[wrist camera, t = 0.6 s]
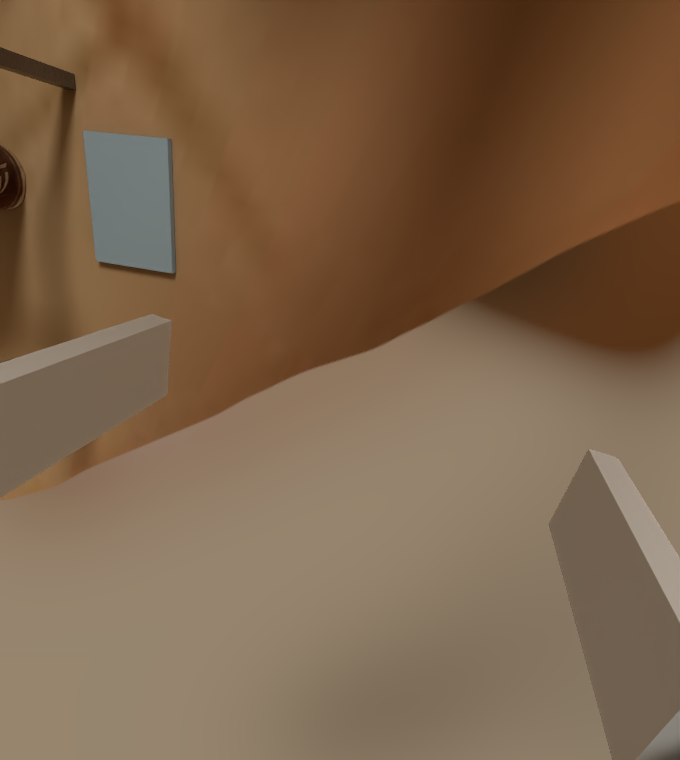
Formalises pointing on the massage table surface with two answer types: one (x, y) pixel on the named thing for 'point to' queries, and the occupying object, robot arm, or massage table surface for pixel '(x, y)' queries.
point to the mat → (131, 200)
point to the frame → (36, 69)
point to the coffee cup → (11, 180)
